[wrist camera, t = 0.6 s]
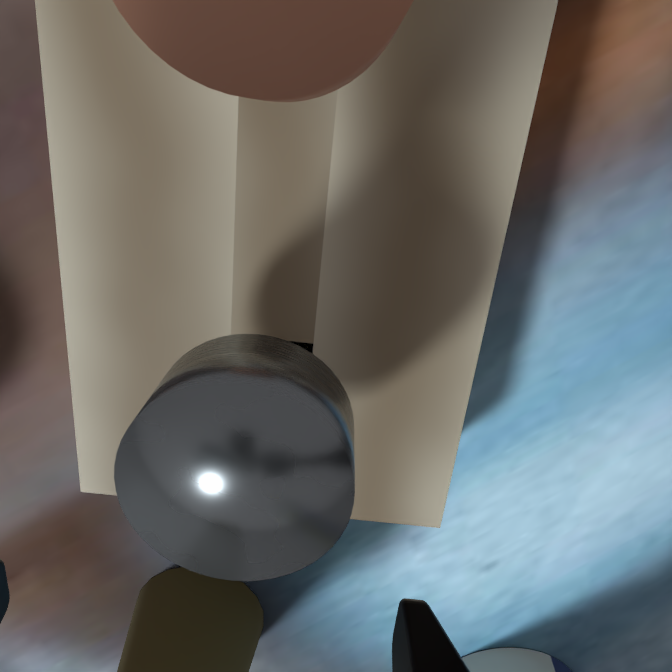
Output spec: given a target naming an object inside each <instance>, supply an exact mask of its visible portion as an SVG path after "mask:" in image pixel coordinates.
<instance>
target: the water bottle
mask: <svg viewBox="0 0 672 672" xmlns="http://www.w3.org/2000/svg"><path fill="white" fill-rule="evenodd" d="M462 660H463V661H464V663H465V665H466V666H467V668H468V669H469V671H470V672H572V671H571V670H570V669H569V668H568V667H567V666H566V665H565V664H564V663H562V662H561V661H559V660H558V659H556V658H554V657H552V656H550V655H547V654H545V653H542V652H538V651H535V650H530V649H523V648H496V649H489V650H484V651H480V652H476V653H473V654H470V655H467V656H465V657H462Z"/></svg>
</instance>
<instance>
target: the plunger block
mask: <svg viewBox="0 0 672 672" xmlns="http://www.w3.org/2000/svg"><path fill="white" fill-rule="evenodd" d="M557 4H558V0H414V1H413V2H412V4H411V6H410V8H409V10H408V11H407V13H406V15H405V17H404V19H403V20H402V22H401V24H400V26H399V28H398V29H397V31H396V33H395V34H394V36H393V38H392V39H391V41H390V43H389V44H388V46H387V47H386V48H385V49H384V51H383V52H382V53H381V55H380V56H379V57H378V58H377V59H376V60H375V61H374V62H373V63H372V64H371V65H370V66H369V68H368V69H367V70H366V71H364V72H363V73H362V74H360V75H359V76H358V77H357V78H355V79H354V80H353V81H351V82H350V83H348V84H346V85H345V86H343V87H341V88H339V89H338V90H336V91H333V92H331V93H328V94H326V95H324V96H321V97H317V98H313V99H309V100H305V101H296V102H271V101H264V100H257V99H250V98H245V97H239V96H234V95H229V94H226V93H223V92H220V91H217V90H214V89H211V88H208V87H206V86H204V85H202V84H200V83H198V82H196V81H194V80H191V79H189V78H188V77H186V76H185V75H183V74H182V73H180V72H179V71H177V70H175V69H174V68H172V67H171V66H169V65H168V64H167V63H166V62H165V61H163V60H162V59H161V58H160V57H159V56H158V55H156V54H155V53H154V52H153V51H152V50H151V49H150V48H149V47H148V46H147V45H146V44H145V43H144V42H143V41H142V40H141V39H140V38H139V37H138V35H137V34H136V33H135V32H134V31H133V30H132V28H131V27H130V26H129V24H128V23H127V22H126V20H125V19H124V17H123V16H122V15H121V13H120V12H119V11H118V9H117V7H116V5H115V4H114V2H113V0H35V5H36V16H37V26H38V37H39V48H40V59H41V69H42V80H43V91H44V102H45V112H46V123H47V134H48V145H49V155H50V166H51V177H52V188H53V198H54V209H55V220H56V231H57V241H58V252H59V263H60V274H61V284H62V295H63V306H64V317H65V327H66V338H67V349H68V360H69V370H70V381H71V392H72V403H73V413H74V424H75V435H76V446H77V456H78V467H79V478H80V489H81V492H88V493H98V494H108V495H117V493H116V488H115V481H114V464H115V459H116V453H117V450H118V447H119V444H120V442H121V439H122V438H123V436H124V434H125V432H126V430H127V429H128V427H129V426H130V424H131V423H132V421H133V420H134V419H135V417H136V416H137V414H138V413H139V412H140V410H141V409H142V407H143V406H144V405H145V403H146V402H147V400H148V399H149V398H150V396H151V395H152V393H153V392H154V390H155V389H156V388H157V386H158V385H159V383H160V382H161V381H162V379H163V378H164V376H165V375H166V374H167V372H168V371H169V370H170V368H171V367H172V366H173V365H174V363H175V362H176V361H178V360H179V359H180V358H181V357H182V356H183V355H184V354H186V353H187V352H188V351H190V350H191V349H193V348H194V347H196V346H198V345H200V344H202V343H204V342H206V341H209V340H212V339H215V338H218V337H223V336H228V335H235V334H260V335H266V336H272V337H276V338H280V339H283V340H286V341H294V342H303V343H313V353H312V354H313V355H315V356H316V357H317V358H319V359H320V360H321V361H323V362H324V363H325V364H326V365H327V366H328V367H329V368H330V369H331V370H332V371H333V373H334V374H335V375H336V377H337V378H338V379H339V380H340V382H341V384H342V386H343V387H344V389H345V391H346V393H347V395H348V398H349V400H350V403H351V407H352V411H353V417H354V447H355V496H354V505H353V510H352V514H351V517H350V519H356V520H366V521H376V522H386V523H396V524H406V525H416V526H426V527H436V528H440V525H441V521H442V516H443V512H444V508H445V503H446V499H447V494H448V490H449V485H450V481H451V476H452V472H453V467H454V463H455V459H456V454H457V450H458V445H459V441H460V436H461V432H462V427H463V423H464V418H465V414H466V409H467V405H468V401H469V396H470V392H471V387H472V383H473V378H474V374H475V369H476V365H477V360H478V356H479V352H480V347H481V343H482V338H483V334H484V329H485V325H486V320H487V316H488V311H489V307H490V303H491V298H492V294H493V289H494V285H495V280H496V276H497V271H498V267H499V262H500V258H501V253H502V249H503V245H504V240H505V236H506V231H507V227H508V222H509V218H510V213H511V209H512V204H513V200H514V196H515V191H516V187H517V182H518V178H519V173H520V169H521V164H522V160H523V155H524V151H525V147H526V142H527V138H528V133H529V129H530V124H531V120H532V115H533V111H534V106H535V102H536V97H537V93H538V89H539V84H540V80H541V75H542V71H543V66H544V62H545V57H546V53H547V48H548V44H549V40H550V35H551V31H552V26H553V22H554V17H555V13H556V8H557Z"/></svg>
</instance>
